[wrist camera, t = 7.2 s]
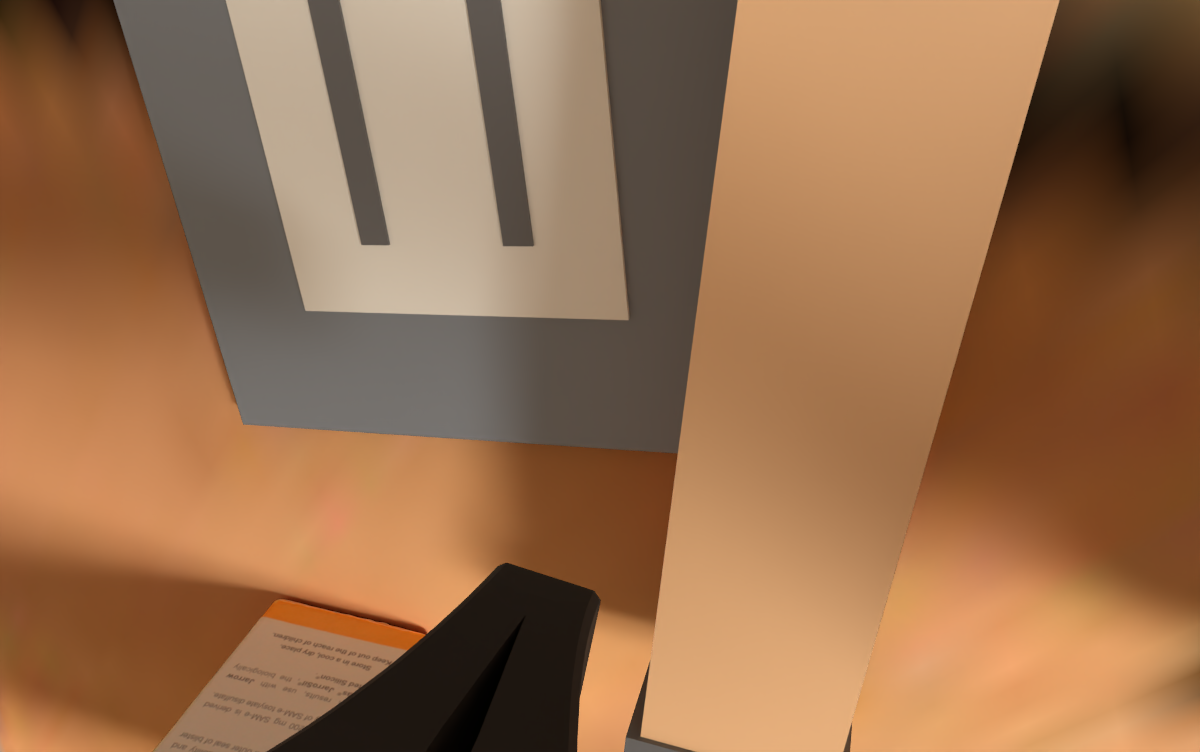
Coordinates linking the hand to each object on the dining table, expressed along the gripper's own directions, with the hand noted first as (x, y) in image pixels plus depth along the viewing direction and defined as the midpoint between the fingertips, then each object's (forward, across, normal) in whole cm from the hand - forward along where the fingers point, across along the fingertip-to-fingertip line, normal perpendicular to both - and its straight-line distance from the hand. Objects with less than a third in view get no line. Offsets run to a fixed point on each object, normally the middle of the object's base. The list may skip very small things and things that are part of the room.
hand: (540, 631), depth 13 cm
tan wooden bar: (+7, -3, -2) cm, 8 cm away
